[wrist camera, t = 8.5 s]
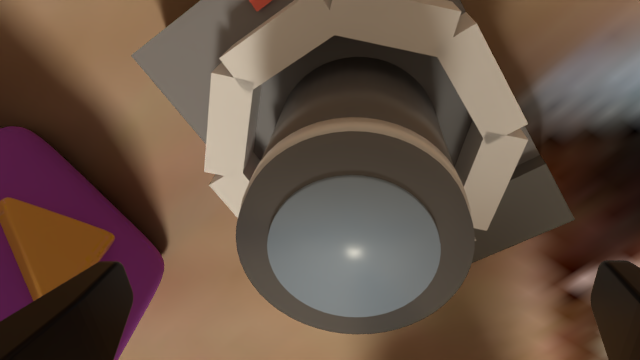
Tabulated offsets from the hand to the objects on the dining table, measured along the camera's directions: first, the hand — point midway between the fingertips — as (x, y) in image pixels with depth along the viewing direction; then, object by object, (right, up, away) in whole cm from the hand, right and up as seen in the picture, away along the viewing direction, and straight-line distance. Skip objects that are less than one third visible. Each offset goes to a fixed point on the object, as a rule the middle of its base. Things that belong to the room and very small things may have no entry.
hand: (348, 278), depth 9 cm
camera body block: (+1, +5, +9) cm, 10 cm away
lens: (+1, +3, +6) cm, 7 cm away
